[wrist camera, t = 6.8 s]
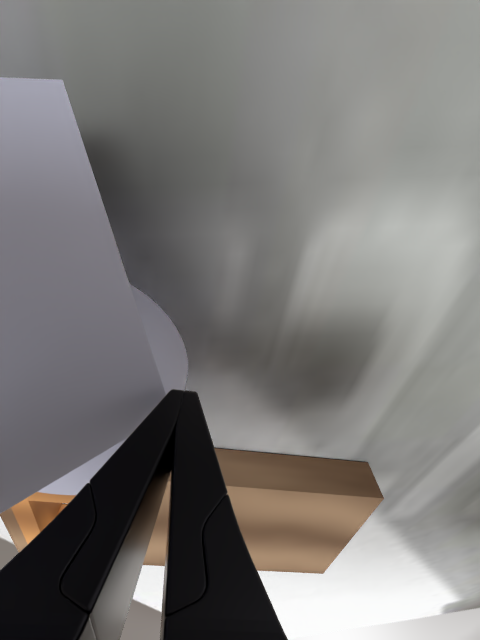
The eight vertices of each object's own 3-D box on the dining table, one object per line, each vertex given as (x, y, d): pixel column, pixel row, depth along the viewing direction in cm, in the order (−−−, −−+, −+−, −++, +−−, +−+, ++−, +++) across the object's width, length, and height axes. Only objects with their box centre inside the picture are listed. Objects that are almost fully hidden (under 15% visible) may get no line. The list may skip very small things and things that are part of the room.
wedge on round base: (-174, 147, 8) (36, 434, 15) (-1203, 117, 2) (-95, 615, 9) (126, 109, 8) (203, 420, 14) (-189, -38, 2) (183, 597, 9)
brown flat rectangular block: (315, 540, 21) (322, 573, 20) (41, 523, 19) (22, 558, 17) (367, 462, 16) (383, 498, 15) (6, 428, 14) (-26, 465, 13)
